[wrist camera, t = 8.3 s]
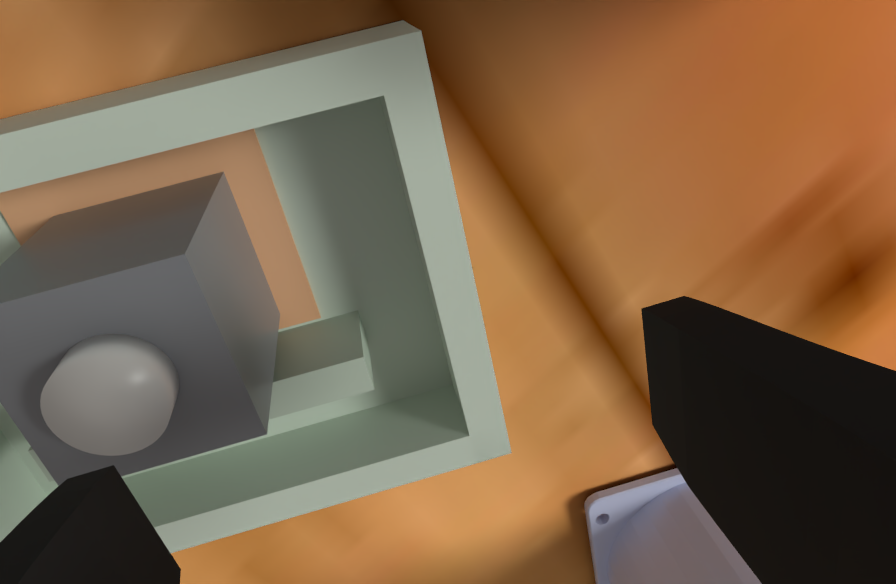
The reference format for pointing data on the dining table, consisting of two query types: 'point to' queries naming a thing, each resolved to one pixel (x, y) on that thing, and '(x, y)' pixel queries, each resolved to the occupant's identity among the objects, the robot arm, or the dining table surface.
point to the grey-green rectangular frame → (291, 271)
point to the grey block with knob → (138, 332)
